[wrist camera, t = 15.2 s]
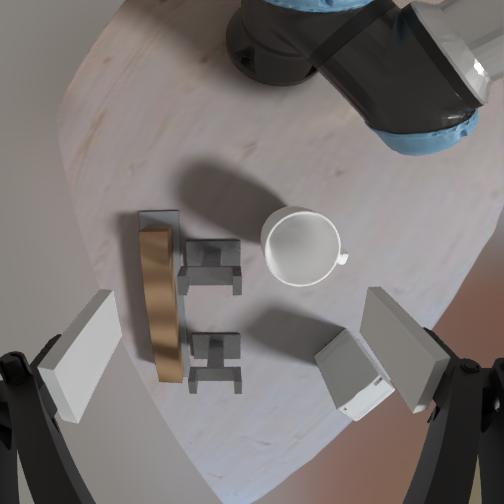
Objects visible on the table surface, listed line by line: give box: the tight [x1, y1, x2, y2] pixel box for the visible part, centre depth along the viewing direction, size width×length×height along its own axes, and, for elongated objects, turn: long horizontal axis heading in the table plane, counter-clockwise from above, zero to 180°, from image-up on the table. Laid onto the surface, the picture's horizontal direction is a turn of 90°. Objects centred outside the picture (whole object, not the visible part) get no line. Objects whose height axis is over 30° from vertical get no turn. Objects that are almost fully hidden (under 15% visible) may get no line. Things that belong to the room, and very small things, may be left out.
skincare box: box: [314, 328, 395, 421], centre depth 45 cm, size 8×6×15 cm
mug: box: [261, 206, 348, 286], centre depth 40 cm, size 12×9×12 cm
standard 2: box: [188, 333, 242, 394], centre depth 45 cm, size 5×8×11 cm, turn 89°
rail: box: [139, 225, 184, 383], centre depth 45 cm, size 26×4×4 cm, turn 179°
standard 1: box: [177, 240, 242, 295], centre depth 40 cm, size 5×8×11 cm, turn 89°
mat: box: [139, 211, 190, 377], centre depth 47 cm, size 30×6×1 cm, turn 179°
